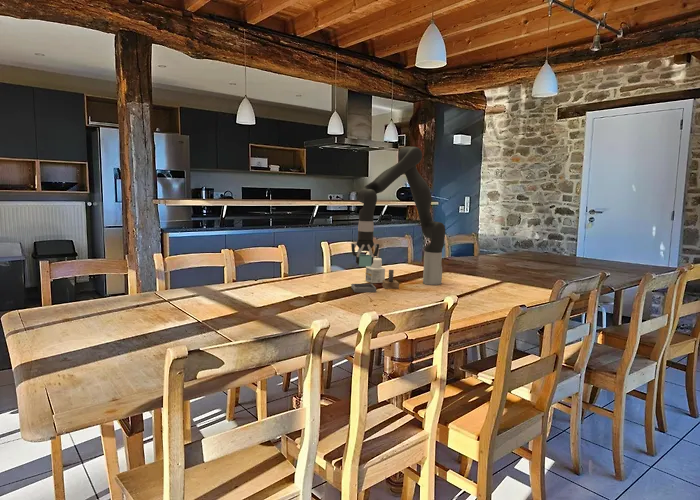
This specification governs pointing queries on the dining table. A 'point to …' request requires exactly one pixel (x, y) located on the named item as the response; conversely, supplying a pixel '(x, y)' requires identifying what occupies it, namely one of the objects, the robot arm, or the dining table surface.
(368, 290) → the charcoal tray
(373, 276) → the container
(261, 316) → the dining table surface
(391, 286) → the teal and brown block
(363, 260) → the teal collar
